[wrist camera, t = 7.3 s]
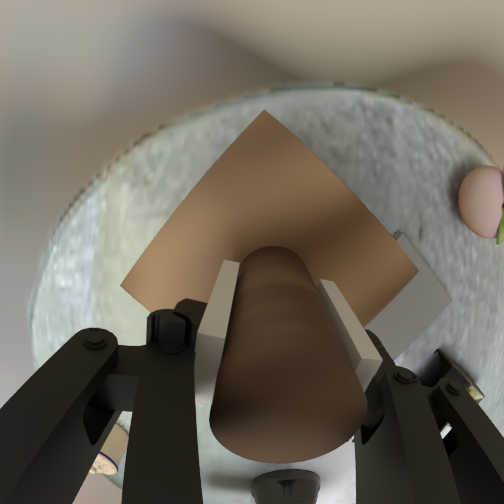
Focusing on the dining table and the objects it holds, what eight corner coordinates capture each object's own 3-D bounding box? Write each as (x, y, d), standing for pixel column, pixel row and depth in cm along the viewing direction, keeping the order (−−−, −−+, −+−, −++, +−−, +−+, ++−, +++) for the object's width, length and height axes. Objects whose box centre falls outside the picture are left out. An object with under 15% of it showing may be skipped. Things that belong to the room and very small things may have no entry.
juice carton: (476, 381, 40) (490, 398, 34) (443, 414, 42) (454, 432, 36) (437, 344, 37) (455, 365, 31) (396, 386, 39) (409, 410, 33)
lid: (410, 264, 17) (529, 357, 6) (274, 389, 19) (282, 526, 9) (263, 114, 14) (275, 2, 4) (127, 278, 17) (17, 387, 6)
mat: (446, 295, 34) (452, 299, 33) (381, 362, 37) (384, 368, 36) (397, 230, 32) (402, 233, 30) (320, 311, 35) (323, 317, 33)
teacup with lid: (91, 408, 42) (66, 449, 31) (133, 429, 43) (114, 474, 31) (90, 436, 45) (71, 472, 34) (127, 454, 46) (111, 493, 34)
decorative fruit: (439, 165, 29) (490, 167, 20) (479, 163, 29) (527, 166, 19) (444, 235, 32) (491, 256, 22) (482, 227, 31) (528, 244, 22)
